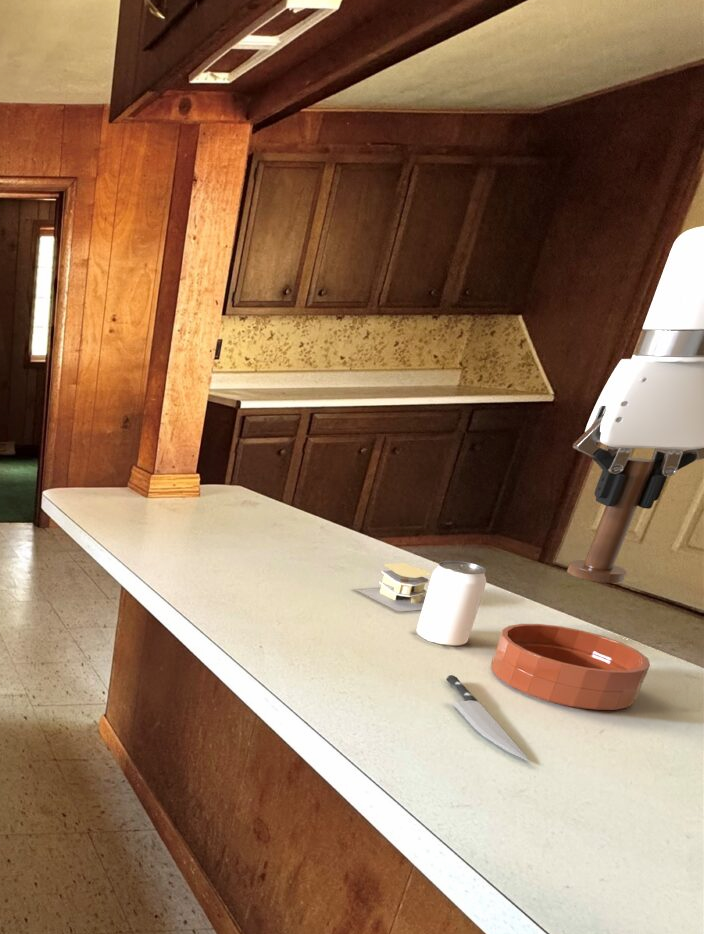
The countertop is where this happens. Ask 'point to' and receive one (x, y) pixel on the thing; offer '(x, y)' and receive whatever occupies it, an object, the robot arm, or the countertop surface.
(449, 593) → the can
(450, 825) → the countertop surface
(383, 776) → the countertop surface
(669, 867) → the countertop surface
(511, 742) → the chef's knife
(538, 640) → the bowl
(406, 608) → the stacked layers on plate
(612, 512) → the brown post with base
